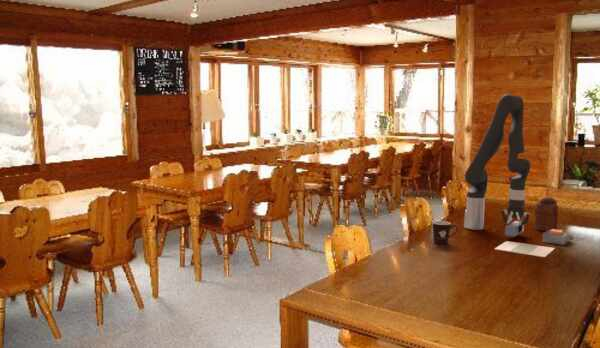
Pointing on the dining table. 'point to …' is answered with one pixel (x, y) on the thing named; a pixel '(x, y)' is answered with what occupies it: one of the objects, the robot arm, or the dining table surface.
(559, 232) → the button cap
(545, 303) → the dining table surface
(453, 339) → the dining table surface
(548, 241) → the button housing
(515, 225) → the eraser
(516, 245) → the paper sheet
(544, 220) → the wooden figurine
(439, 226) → the coffee mug
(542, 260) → the dining table surface
